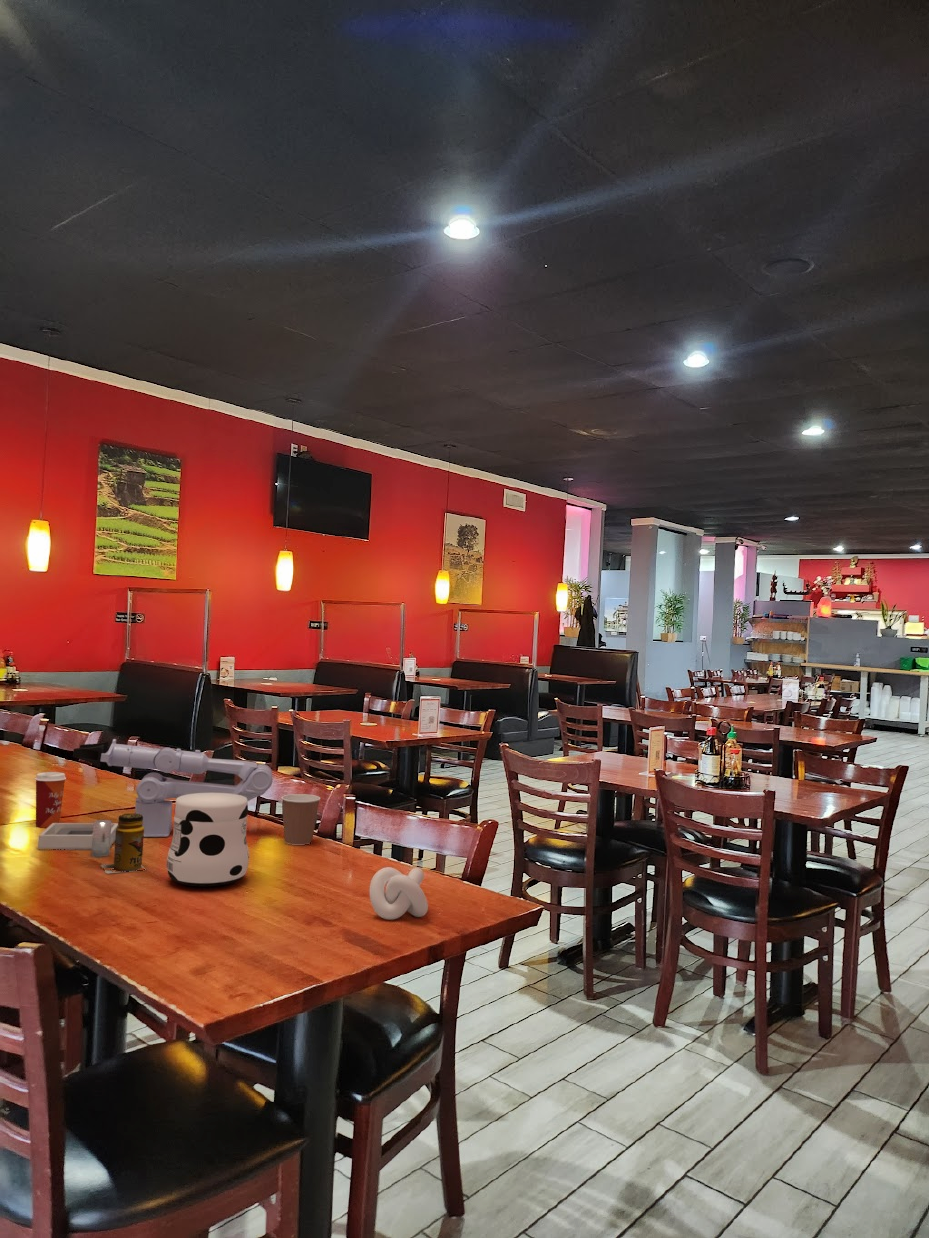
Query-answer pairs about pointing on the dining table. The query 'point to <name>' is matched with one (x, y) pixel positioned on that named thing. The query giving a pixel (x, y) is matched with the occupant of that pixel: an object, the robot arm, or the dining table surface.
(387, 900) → the white knot sculpture
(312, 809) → the coffee cup
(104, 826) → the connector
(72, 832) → the box
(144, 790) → the robot arm
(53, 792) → the paper cup
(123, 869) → the condiment
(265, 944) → the dining table surface
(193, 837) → the milk container
